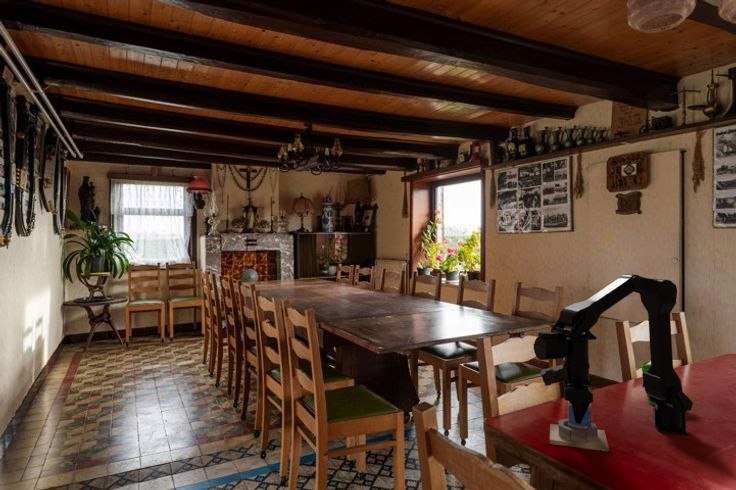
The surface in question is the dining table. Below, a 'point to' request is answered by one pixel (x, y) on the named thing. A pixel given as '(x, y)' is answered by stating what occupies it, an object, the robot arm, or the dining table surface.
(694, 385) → the dining table surface
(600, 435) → the collar
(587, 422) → the pill bottle
